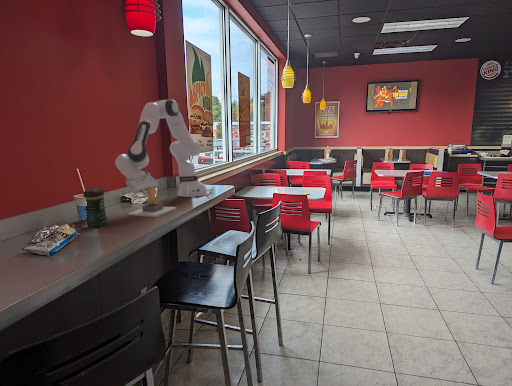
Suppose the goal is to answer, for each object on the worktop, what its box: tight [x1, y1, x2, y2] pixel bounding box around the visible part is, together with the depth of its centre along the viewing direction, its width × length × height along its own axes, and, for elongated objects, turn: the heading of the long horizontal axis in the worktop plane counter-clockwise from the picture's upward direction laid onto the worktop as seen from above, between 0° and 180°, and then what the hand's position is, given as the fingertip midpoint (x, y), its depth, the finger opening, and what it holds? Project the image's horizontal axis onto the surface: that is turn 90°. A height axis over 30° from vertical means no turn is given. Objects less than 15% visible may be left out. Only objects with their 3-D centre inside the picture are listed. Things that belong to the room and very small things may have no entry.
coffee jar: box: [82, 187, 108, 229], centre depth 165 cm, size 10×8×19 cm
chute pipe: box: [146, 188, 157, 205], centre depth 191 cm, size 4×4×9 cm
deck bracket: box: [127, 203, 177, 218], centre depth 192 cm, size 18×20×4 cm
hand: (152, 195), depth 191 cm, fingers closed on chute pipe, 4 cm apart
